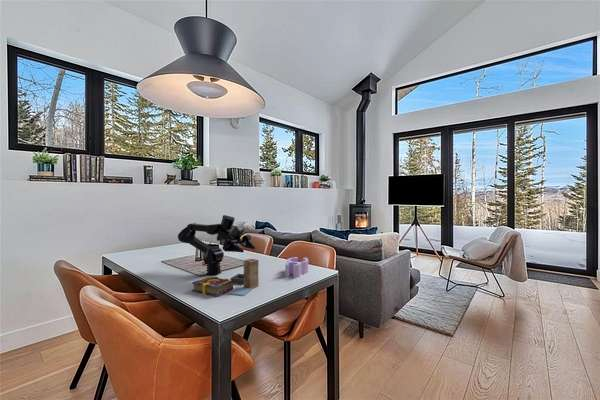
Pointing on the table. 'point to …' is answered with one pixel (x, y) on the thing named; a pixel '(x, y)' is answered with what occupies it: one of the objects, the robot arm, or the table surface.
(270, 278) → the table surface
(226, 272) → the table surface
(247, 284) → the tan wooden block
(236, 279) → the trap pit
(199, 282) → the decorative book
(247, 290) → the pad
